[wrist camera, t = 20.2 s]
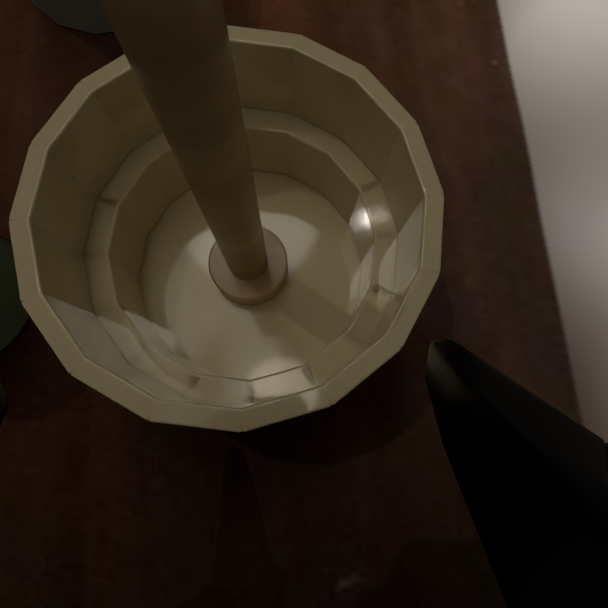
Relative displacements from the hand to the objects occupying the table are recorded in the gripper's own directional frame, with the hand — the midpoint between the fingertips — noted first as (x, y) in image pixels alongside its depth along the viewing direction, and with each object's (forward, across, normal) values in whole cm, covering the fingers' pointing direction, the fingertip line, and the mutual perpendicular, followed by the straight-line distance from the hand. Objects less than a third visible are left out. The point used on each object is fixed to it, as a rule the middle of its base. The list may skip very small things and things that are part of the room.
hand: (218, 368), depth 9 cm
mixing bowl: (+10, 0, +3) cm, 10 cm away
